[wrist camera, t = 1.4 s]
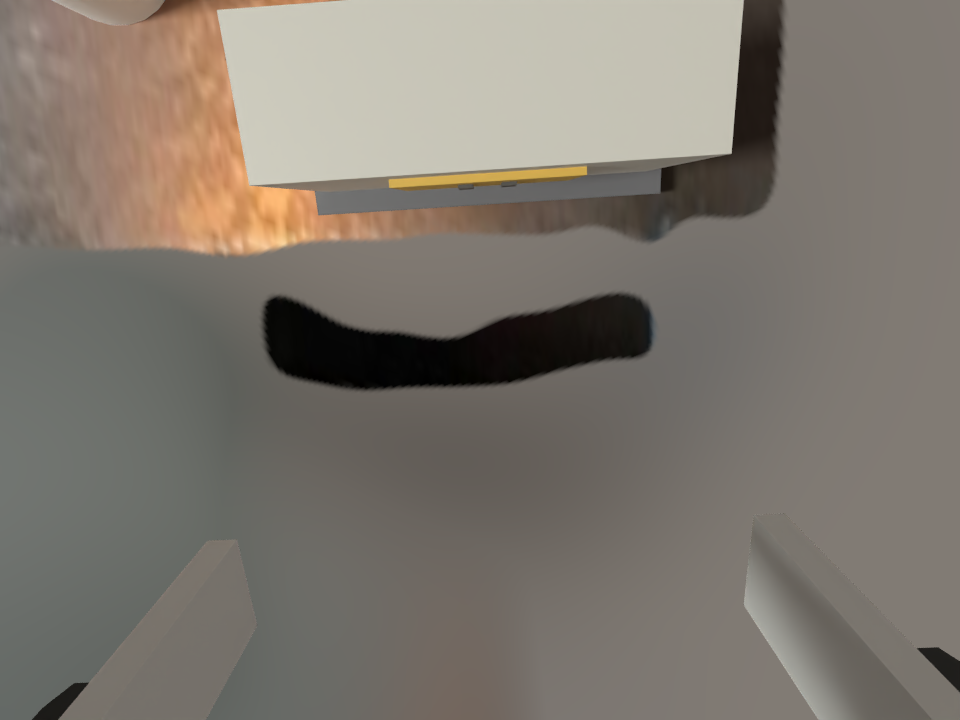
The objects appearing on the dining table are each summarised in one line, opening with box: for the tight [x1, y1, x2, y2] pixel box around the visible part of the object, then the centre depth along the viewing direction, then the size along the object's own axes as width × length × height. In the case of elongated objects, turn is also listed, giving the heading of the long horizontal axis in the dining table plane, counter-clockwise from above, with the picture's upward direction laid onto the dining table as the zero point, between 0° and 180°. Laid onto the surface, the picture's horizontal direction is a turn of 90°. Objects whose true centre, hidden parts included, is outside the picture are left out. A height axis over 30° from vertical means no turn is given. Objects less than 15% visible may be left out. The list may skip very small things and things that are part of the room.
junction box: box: [217, 0, 744, 215], centre depth 29 cm, size 24×10×14 cm, turn 94°
